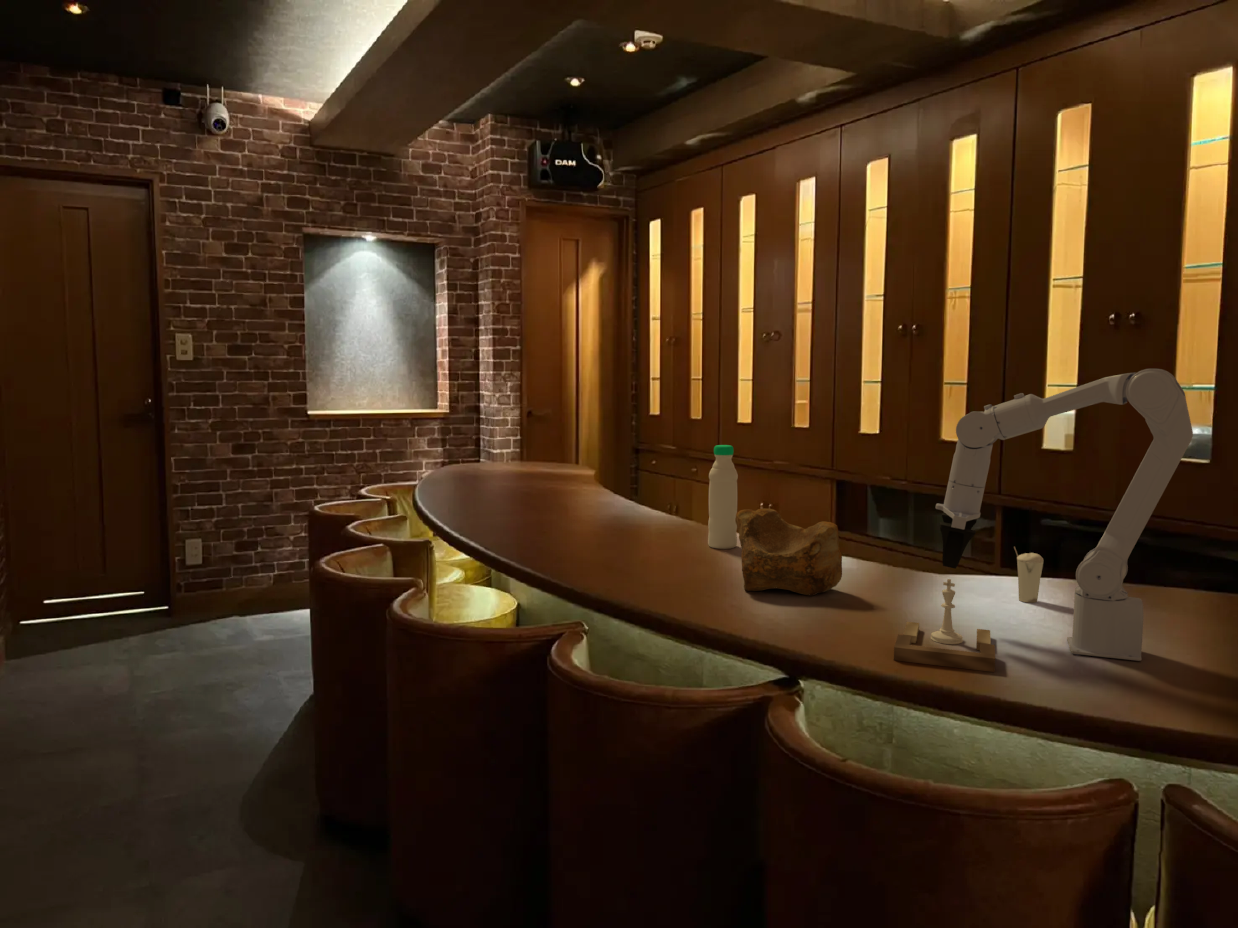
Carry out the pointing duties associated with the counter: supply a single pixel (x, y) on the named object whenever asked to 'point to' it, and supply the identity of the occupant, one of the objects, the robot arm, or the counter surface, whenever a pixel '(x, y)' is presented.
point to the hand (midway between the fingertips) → (950, 561)
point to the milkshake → (1029, 576)
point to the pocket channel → (913, 630)
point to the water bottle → (722, 500)
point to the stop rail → (945, 655)
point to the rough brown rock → (787, 553)
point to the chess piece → (947, 619)
